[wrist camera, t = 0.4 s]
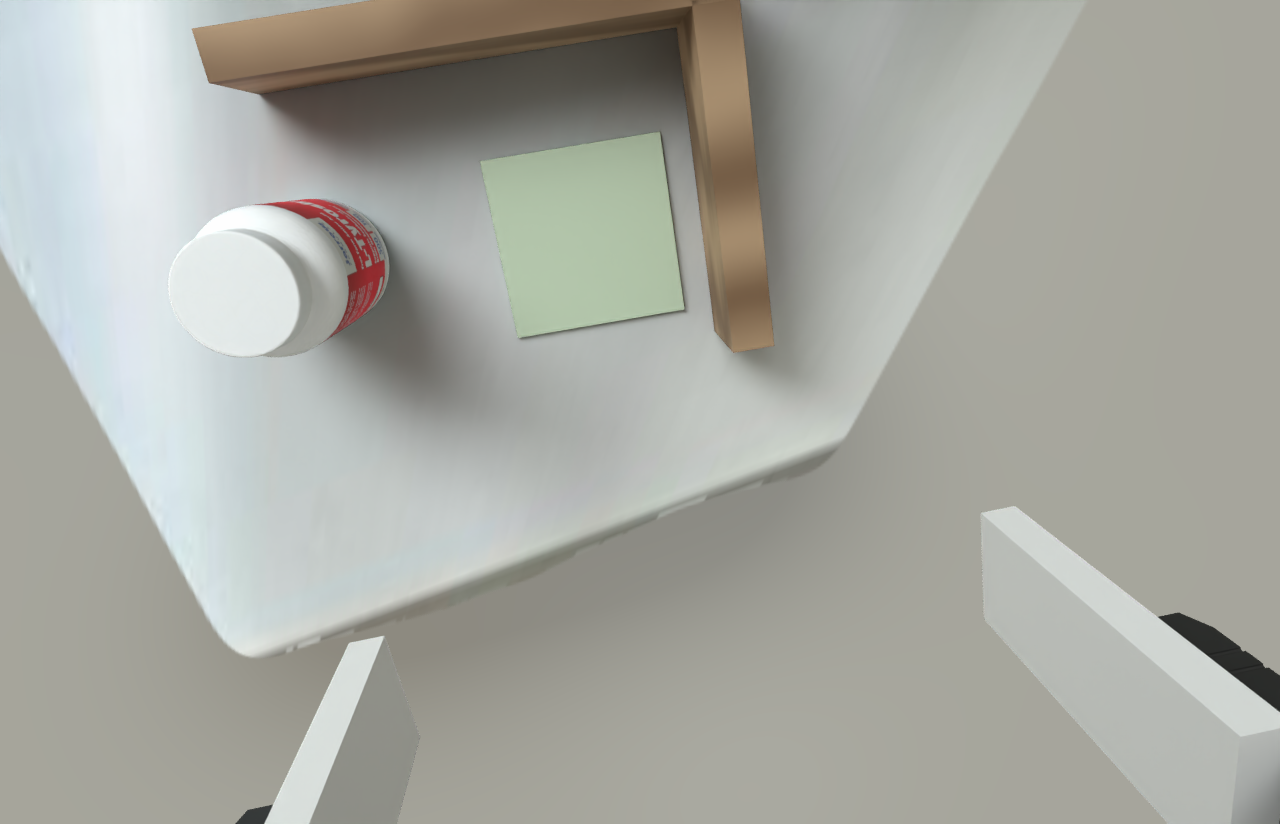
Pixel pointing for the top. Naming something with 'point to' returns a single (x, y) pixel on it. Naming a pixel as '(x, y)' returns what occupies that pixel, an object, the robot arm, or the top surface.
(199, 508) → the top surface
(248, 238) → the pill bottle
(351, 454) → the top surface
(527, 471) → the top surface
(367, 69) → the corner barrier
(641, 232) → the pad
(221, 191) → the top surface
